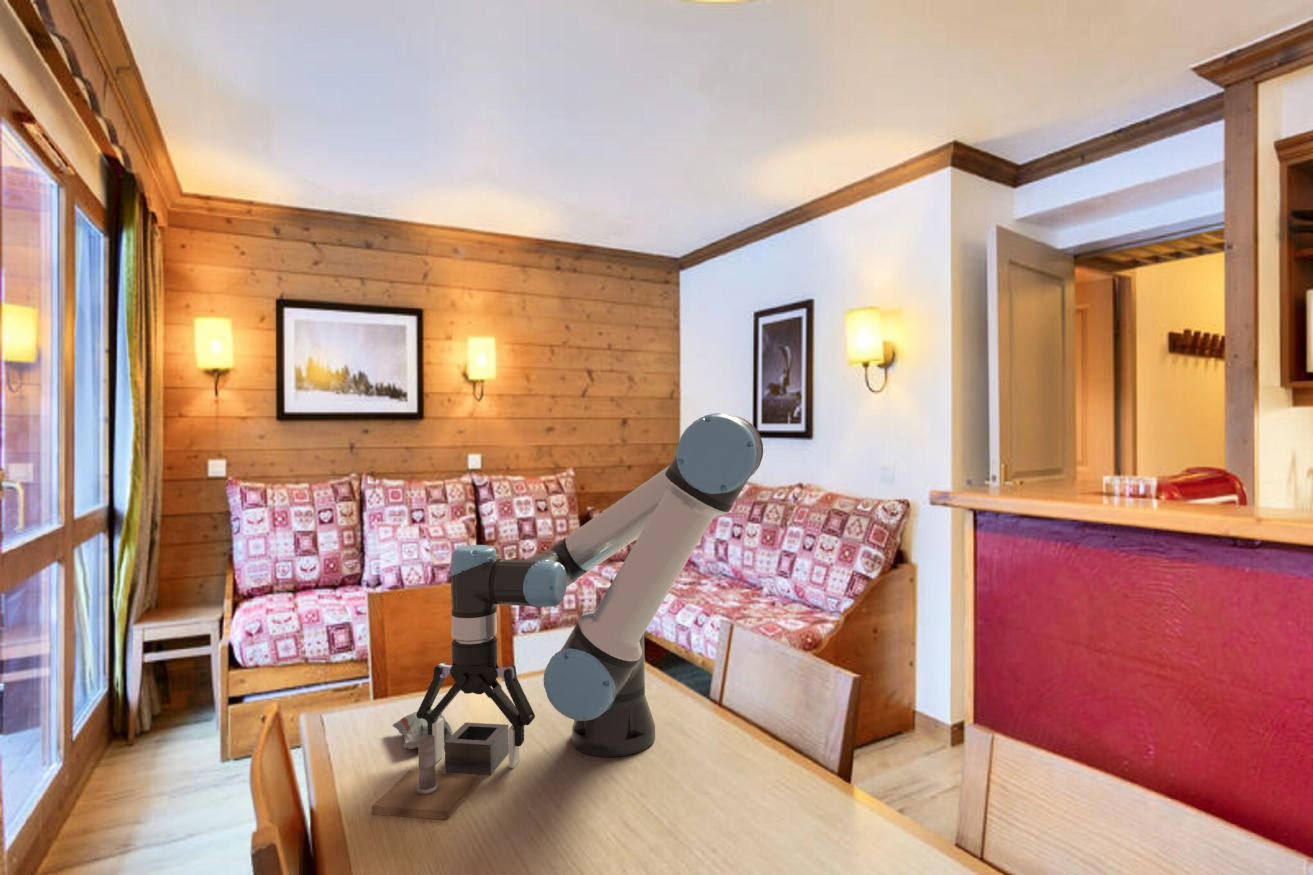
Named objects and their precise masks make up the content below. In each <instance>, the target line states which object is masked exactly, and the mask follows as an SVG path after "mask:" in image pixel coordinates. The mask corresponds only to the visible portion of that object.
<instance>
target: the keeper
mask: <svg viewBox="0 0 1313 875" xmlns="http://www.w3.org/2000/svg"><path fill="white" fill-rule="evenodd" d="M417 749H418V751H417V752H418V756H417V757H418V759H417V760H418V770H408V771H407V772H406V773H405V774H404V775H403V776H402V777H400V779H398V780H397V781H396V782H395V783H394V784H393V785H392V786H390V788H388V790H387V791H386V792H384V793H383V795H381V797H379V798H378V799H377V800H376V801H375V802H374V803H372V805H371V815H383V816H396V817H407V818H408V817H409V818H420V819H421V818H422V819H423V818H424V819H434V820H449V819H450V818H451V816H453V814H454V813H455V812H456V810H457V809H458V808H459V807H460V806H461V804H463V802H464V801H465V800H466V799H467V797H468V796H469V795H470V794H471V793H472V791H473V790H474V789H475V787H477V785H478V784H479V783H480V777H479V774H464V773H449V772H439V771H436V762H435V739H434V736H433V735H424V736H421V737H419V738H418V748H417Z"/></svg>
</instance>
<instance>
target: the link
mask: <svg viewBox="0 0 1313 875" xmlns="http://www.w3.org/2000/svg"><path fill="white" fill-rule="evenodd" d="M507 756H509V724H504V723H503V724H501V723H485V722H484V723H483V722H481V723H480V722H464V723H463V724H462V725H461V726H460V727H459V728H458V729H456V731H455V732H453V735H452V736H451V737H450V738H448V739H447V740H446V741H445V743H444V773H457V774H472V775H483V776H492V774H493V773H494V772H495V771H496V769H497V768H498V767H500V764H502V762H503V761H505V759H506V758H507Z"/></svg>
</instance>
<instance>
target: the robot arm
mask: <svg viewBox="0 0 1313 875" xmlns="http://www.w3.org/2000/svg"><path fill="white" fill-rule="evenodd" d="M763 456H764V444H763V440H762V437H761V435H760V433H759V431H758V430H757V428H756V427H755V426H754V425H753V424H752V423H751V422H749V421H748V420H747V419H745V418H743V417H741V416H737V415H732V414H728V413H723V412H722V413H720V412H719V413H718V412H716V413H715V412H714V413H711V414H706V415H703V416H701V417H699V418H698V419H697V420H694V421H692V423H691V424H690V425H689V426H687V427H686V429H685V430H684V431H683V433H682V434H681V436H680V438H679V441H678V444H677V447H676V454H675V456H674V457H673V459H672V461H671V463H670V464H669V465H668V466H667V467H665V468H664V469H662V470H661V471H659V472H658V473H657V474H655V475H654V476H653V477H651V478H649V479H648V480H646V481H645V482H643V484H640V486H638V487H636V488H635V489H633V490H632V491H631V492H629V493H628V494H626V495H625V496H623V497H622V498H621V499H619V500H618V501H616V502H614V504H612V505H610V506H609V507H607V508H606V509H604V510H603V511H602V512H600V513H598V514H597V515H596V516H594V517H593V518H592V519H590V520H588V521H587V522H586V523H584V524H583V525H582V526H580V527H579V528H577V529H576V530H574V531H573V532H571V533H570V534H568V535H567V536H566V537H564V538H562V539H561V540H560V541H558V542H557V543H555V544H554V545H552V546H550V547H549V548H548V549H546V550H544V551H542V552H541V553H538V554H535V555H533V556H531V557H528V558H526V559H504V558H503V559H501V558H498V555H497V550H496V548H495V547H494V546H492V545H486V544H472V545H464V546H460V547H458V548H457V547H456V548H455V549H454V550H453V551H452V553H451V557H450V558H451V561H450V573H449V577H450V593H451V595H450V597H451V598H450V599H451V610H450V611H451V626H450V627H451V631H450V632H451V638H452V639H453V640H452V641H451V662H452V665H451V664H450V665H449V664H448V663H447V662H446V661H442V662H440V663H439V664H437V665H436V666H434V668H433V676H432V681H431V683H430V685H429V687H428V688H427V691H426V693H425V696H424V697H423V699H422V701H421V703H420V705H419V708H418V710H417V711H418V712H417V711H416V712H417V714H416V716H417V718H419V719H421V718H423V719H425V720H426V721H427V723H428V735H433V736H434V739H435V763H438V762H439V761H440V760H441V759H442V758H443V757H445V743H444V718H445V717H444V718H439V719H438V717H439V716H440V714H441V713H442V714H443V712H444V711H445V710H446V708H448V706H449V705H450V703H451V702H452V701H453V700H454V699H455V698H456V697H457V695H458V694H459V693H460V692H461V691H462V692H463V693H464V694H466V695H468V694H475V695H482V694H484V695H486V696H487V698H489V699H491V700H492V702H493V703H494V704H495V705H496V706H497V707H498V709H499V711H501V713H502V714H503V715H504V716H505V718H506V719H507V721H509V723H510V724H511V726H510V727H508V730H509V754H508V763H509V764H508V767H509V769H510V768H511V769H514V768H515V767H516V765H518V763H519V761H520V747H521V746H522V745H523V743H524V742H525V726H530V724H531V723H532V722H533V720H534V719H535V718H536V715H535V712H534V711H533V708H532V706H531V704H530V702H529V700H528V698H527V696H526V694H525V692H524V690H523V688H522V685H521V683H520V682H519V679H518V676H517V668H516V666H515V665H514V664H511V665H509V666H508V667H507V666H506V667H499V665H498V638H497V637H496V635H497V633H498V624H497V623H498V622H497V620H498V619H497V617H498V616H497V613H498V612H497V611H498V610H497V608H498V606H497V605H503V606H515V607H516V606H520V607H532V608H539V609H540V608H548V607H549V608H552V607H553V608H555V607H557V606H559V605H560V604H561V603H562V602H563V599H564V597H565V595H566V593H567V587H569V586H570V585H572V584H573V583H575V582H576V581H577V580H579V578H581V577H583V576H584V575H586V574H587V573H588V572H590V571H591V570H592V569H594V568H595V567H597V566H598V565H600V564H601V563H603V562H604V561H606V560H607V559H609V558H610V557H612V556H613V555H615V554H616V553H618V552H619V551H621V550H622V549H623V548H625V547H627V546H628V545H630V544H632V543H633V542H634V541H635V540H636V541H635V543H634V545H633V546H632V547H631V549H630V551H629V552H628V555H627V556H626V558H625V560H624V561H623V563H622V565H621V566H620V568H619V569H618V571H617V572H616V575H615V577H614V578H613V580H612V582H611V583H610V585H609V587H608V588H607V590H606V592H605V593H604V595H603V597H602V598H601V600H600V602H599V604H598V605H597V607H596V608H595V610H593V611H586V612H584V613H582V615H580V618H579V619H578V621H577V623H576V624H575V626H574V628H573V629H572V631H571V632H570V634H569V636H568V638H567V639H566V641H565V643H564V645H562V647H561V649H560V650H559V651H557V652H556V653H555V654H554V655H553V656H551V658H550V659H549V661H548V663H547V665H546V666H545V668H544V669H545V670H544V672H543V673H544V674H543V688H544V689H545V693H546V697H547V699H548V701H549V702H550V704H551V705H552V707H553V708H554V709H555V710H556V711H557V712H558V713H559V714H561V715H563V716H564V717H566V718H568V719H571V720H574V721H573V724H572V726H571V727H572V728H571V741H572V745H573V746H574V748H576V749H577V750H579V751H580V752H582V753H585V754H588V755H591V756H596V757H607V758H611V757H613V758H614V757H622V756H623V757H624V756H629V755H634V754H637V753H639V752H642V751H645V750H646V749H648V748H649V747H651V746H652V745H653V743H654V742H655V741H656V723H655V720H654V718H653V714H652V712H651V709H650V705H649V702H648V700H647V697H646V687H645V686H646V682H645V681H646V680H645V679H646V676H645V673H646V670H645V664H646V663H645V634H646V630H647V628H649V626H650V624H651V623H652V620H653V618H654V617H655V616H656V614H657V612H658V611H659V609H660V608H661V605H662V604H663V602H664V601H665V599H666V597H667V596H668V594H669V593H670V591H671V589H672V587H673V586H674V584H675V582H676V581H677V579H678V577H679V576H680V574H681V572H682V571H683V569H684V568H685V566H686V565H687V563H688V561H689V559H690V557H691V556H692V554H693V553H694V551H695V550H696V547H697V546H698V544H699V543H700V541H701V539H702V538H703V536H704V534H705V533H706V531H707V529H708V528H709V526H710V524H711V522H712V521H713V520H714V518H716V517H718V516H719V517H720V516H722V515H727V514H728V513H729V512H730V510H731V509H732V507H733V505H734V504H735V502H736V501H737V499H738V497H739V496H740V494H741V492H742V491H743V489H744V487H745V486H746V484H747V483H748V481H749V479H750V478H751V477H752V476H753V475H755V473H756V471H757V470H759V468H760V466H761V463H762V460H763ZM449 674H450V676H451V678H452V679H453V681H454V684H453V685H452V686H451V687H450V688H449V690H448V692H447V693H445V695H443V697H442V699H441V700H440V701H439V702H438V703H437V704H436V706H435V707H434V708H432V707H433V705H434V702H435V701H436V698H437V696H438V694H439V692H440V690H441V688H442V686H443V684H444V681H445V680H446V678H447V677H448V676H449ZM498 677H500V678H501V681H503V682H504V684H505V686H506V687H505V688H506V689H507V692H508V693H509V695H510V697H511V698H509V696H508V695H507V694H506V693H505V691H504V690H503V689H502V684H500V682H499V681H498V680H497V679H498ZM430 709H433V711H432V710H430Z"/></svg>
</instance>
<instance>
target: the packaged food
mask: <svg viewBox="0 0 1313 875" xmlns="http://www.w3.org/2000/svg"><path fill="white" fill-rule="evenodd" d="M433 709H434V708H431V709H430V710H432V711H433ZM417 712H418V710H417V711H414V712H413V713H410V714H407V715H406V716H404V717H402V718H401V719H400V720H397V721H396V722H395V723H393V724H392V727H393V728H395V729H396V730H397V731H398V733H400V734H401V735H402V737H403V740H404V744H403V748H404V749H409V750H410V749H411V750H412V749H413V750H414V749H418V738H419V737H421V736H424V735H428V723H427V721H426V720H425V719H423V718H421V719H419V718H417V716H416V714H417ZM439 718H444V744H445V741H446V740H447V739H448V738H450V737H451V736H452V735H453V734H454V732H453V731H452V728H451V725H450V724H449V722H448V721H447V720H446V718H445V716H444V715H443V712H442V713H441V714H440V716H439V717H438V719H439Z"/></svg>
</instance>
